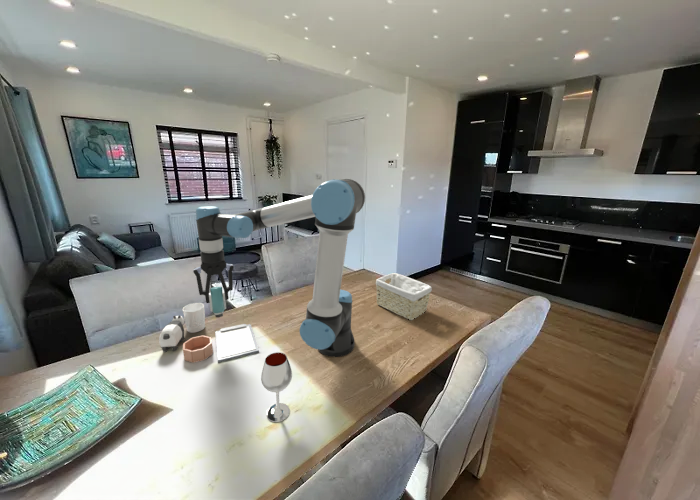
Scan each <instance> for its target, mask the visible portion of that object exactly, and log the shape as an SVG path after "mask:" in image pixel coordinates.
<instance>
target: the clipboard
mask: <svg viewBox="0 0 700 500" xmlns="http://www.w3.org/2000/svg"><path fill="white" fill-rule="evenodd" d="M214 334H215V343H216V355H217V362H218V363H222V362H224V361H229V360H233V359H237V358H241V357H245V356H249V355H253V354H257V353H260V348H259V346H258V343H257V340H256V337H255V333H254V331H253V328H252V325H251V323H249V324H246V323H242V324H237V325H231V326H227V327H223V328H220V329H219V330H216V331H215V332H214Z"/></svg>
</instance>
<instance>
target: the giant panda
mask: <svg viewBox="0 0 700 500" xmlns="http://www.w3.org/2000/svg"><path fill="white" fill-rule="evenodd" d="M184 324H185V319H184V316H182V315H173V318H172V320H171V321H170V322H169V323H168V324H166V325H165V327H164V328H163V329H162V330H161V332H160V334H159V339H158V342H159V346H160V348H161V350H162V352H163V353H166V352H168V351H169V349H170V348H171V351H172V352H177V350H178V349H179V346H178V344H179V342H180V343H182V342H183V343H184V341H185V340H186V337H185V328H184Z"/></svg>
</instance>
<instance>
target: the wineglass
mask: <svg viewBox="0 0 700 500" xmlns="http://www.w3.org/2000/svg"><path fill="white" fill-rule="evenodd" d="M262 366H263V367H262V371H261V375H260V376H261V377H260V381H261V384H262V386H263V387H264V388H265V390H266V391H268V392H271V393H275V394H276V395H275V398H276V403H274V404H272V405H271V406H269V408H268V409H267V410H266V417H267V419H268V420H269V421H270V422H272V423H280V422H283V421H284V420H286V419H287V418H288V417H289V414H290V412H291V410H290V407H289V405H287V403H284V402H283V403H282V402H280V392H282V391H284V390H285V389H287V387H288V386H289V385H290V383H291V381H292V377H293V371H292V367H291V364H290V362H289V359H288V357H287V355H286V354H285V353H283V352H278V351H277V352H273V353H270V354H268V355H267V356H266V357H265V359H264V363H263V365H262Z"/></svg>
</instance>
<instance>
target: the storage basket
mask: <svg viewBox="0 0 700 500" xmlns="http://www.w3.org/2000/svg"><path fill="white" fill-rule="evenodd" d="M375 280H376V281H375V285H376V304H377V305H378V306H380V307H383V308H384V309H387V310H388V311H390V312H392V313H394V314H396V315H398V316H400V317H403V318H404V319H407V320H408V319H409V320H408V321H413V320H414V318H415V319H416V318H418V317H420V316H422V315H423V314H425V313H426V312H427V308H428V305H429V300H430V295H431V292H432V288H433V287H432V286H431V285H429V284H428V283H427V284H426V283H424V282H422V281H420V280H418V279H417V280H416V279H414V278H411V277H409V276H406V275H403V274H400V273H396V272H393V273H389V274H386V275H383V276H381V277H378V278H377V279H375ZM386 281H389V283H387V282H386ZM425 311H426V312H425ZM424 312H425V313H424ZM422 313H423V314H422ZM419 315H420V316H419Z"/></svg>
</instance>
